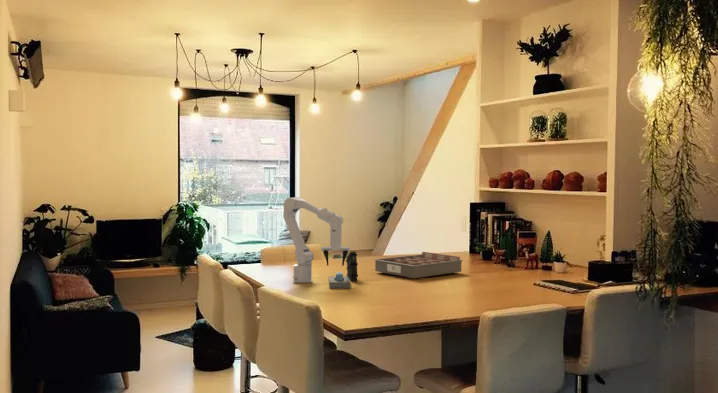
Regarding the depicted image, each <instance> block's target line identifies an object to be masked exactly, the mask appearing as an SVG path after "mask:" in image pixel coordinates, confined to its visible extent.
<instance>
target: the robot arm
mask: <svg viewBox="0 0 718 393" xmlns="http://www.w3.org/2000/svg"><path fill="white" fill-rule="evenodd" d="M282 206H283V220H284V222H285V224H286V227H287V230H288V232H289V235H290V237H291V240H292V242H293V243H292V244H294V248H295V250H294V254H295V261H296V263H297V264H293V275H292V279H293V283H295V284H296V283H297V284H298V283H308V284H309V283H313V279H312V273H313V272H312V270H313V269H312V268H313V267H312V266H313V264H312V261H313V260H314V259H315V258H314V257H315V256H314V253H313V252H312V251H311V249H310V247H309V246H308V245H306V242H305V240H304V237H303V235H302V232H301V230H300V228H299V225H298V223H297V219H296V218H295V217H296V214H297V213H298V211H299V210H300V209H304V210H306V211H309V212H310V213H313V214H316V216H317V219H320V220H321V221H324V222H326V223H327V224H329V226H330V228H329V229H330V230H329V235H330V236H329V246H322V247H320V249H321V250H320V251H321V252H323V255H324V258H325V261H326V266H327V267H328V266H329V252H342V261H341V265H342V267H344V266H345V262H346V258H347V256H348V255H349V254H348V252H349V253H350V252H351V247H347V246H346V247H345V246H342V231H343V230H342V225H343V223H344V218H343V216H342V215H340V214H336V212H335V211H334V212H332V211H331V210H328V208H326V207H321V208H320V207H318V206H316V205H315V204H312V203H311V202H308V201H307V200H306V199H304V198H301V197H298V196H296V197H287V198H285V200H284V202H283V204H282Z"/></svg>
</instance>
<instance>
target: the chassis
mask: <svg viewBox="0 0 718 393" xmlns="http://www.w3.org/2000/svg"><path fill="white" fill-rule="evenodd" d="M328 286H329V289H332V290H333V289H335V290H336V289H339V290H340V289H342V290H343V289H351V281H350V280H349V277H348V276H347V275H346V276H345V275H343V281H336V275H335V276H331V275H330V276H328Z"/></svg>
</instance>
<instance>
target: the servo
mask: <svg viewBox="0 0 718 393" xmlns="http://www.w3.org/2000/svg"><path fill="white" fill-rule="evenodd" d="M335 276H336V281H343V276H344V274H343V272H341V271H337V272H335Z"/></svg>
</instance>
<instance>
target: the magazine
mask: <svg viewBox="0 0 718 393" xmlns="http://www.w3.org/2000/svg"><path fill="white" fill-rule="evenodd" d="M357 256H358V253H357V251H350V252H349V254H347V256H346V258H345V262H346V267H345V268H346V271H347V273H346V276H348V277H349V280H350V282H358V277H359V274H358V264H359V263H358V262H357V261H358V260H357V258H358V257H357Z"/></svg>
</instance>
